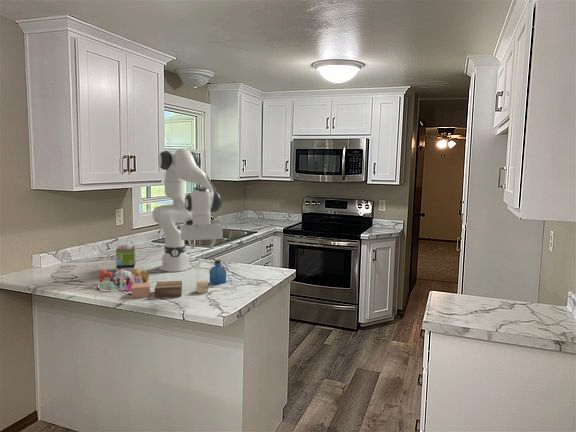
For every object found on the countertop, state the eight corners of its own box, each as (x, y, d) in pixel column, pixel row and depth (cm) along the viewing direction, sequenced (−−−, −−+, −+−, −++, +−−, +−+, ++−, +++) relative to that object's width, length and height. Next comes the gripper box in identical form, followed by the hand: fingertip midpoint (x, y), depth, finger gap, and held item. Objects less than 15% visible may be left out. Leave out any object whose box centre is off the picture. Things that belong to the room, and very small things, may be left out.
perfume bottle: (209, 282, 237) (209, 260, 236) (219, 280, 242) (219, 258, 240) (216, 285, 233) (216, 262, 232) (226, 282, 237) (225, 260, 236)
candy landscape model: (137, 278, 247) (136, 261, 246) (157, 286, 230) (156, 269, 229) (90, 286, 230) (90, 268, 229) (108, 296, 213) (108, 277, 212)
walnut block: (157, 291, 222) (157, 281, 221) (182, 290, 224) (182, 280, 223) (155, 298, 210) (154, 288, 209) (181, 297, 212) (180, 287, 212)
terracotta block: (133, 293, 218) (132, 283, 217) (150, 292, 220) (150, 282, 219) (131, 298, 210) (131, 288, 209) (149, 297, 212) (149, 286, 211)
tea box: (134, 273, 256) (133, 248, 254) (116, 274, 253) (115, 249, 252) (136, 267, 270) (135, 243, 269) (118, 268, 268) (117, 244, 266)
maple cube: (197, 290, 223) (196, 280, 222) (207, 290, 224) (207, 280, 223) (197, 293, 218) (197, 283, 217) (207, 292, 219) (207, 283, 218)
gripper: (222, 219, 222) (222, 246, 224) (180, 220, 217) (181, 248, 219) (223, 220, 216) (224, 248, 218) (180, 221, 211) (181, 250, 213)
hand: (202, 248), depth 218 cm, fingers open, 8 cm apart
